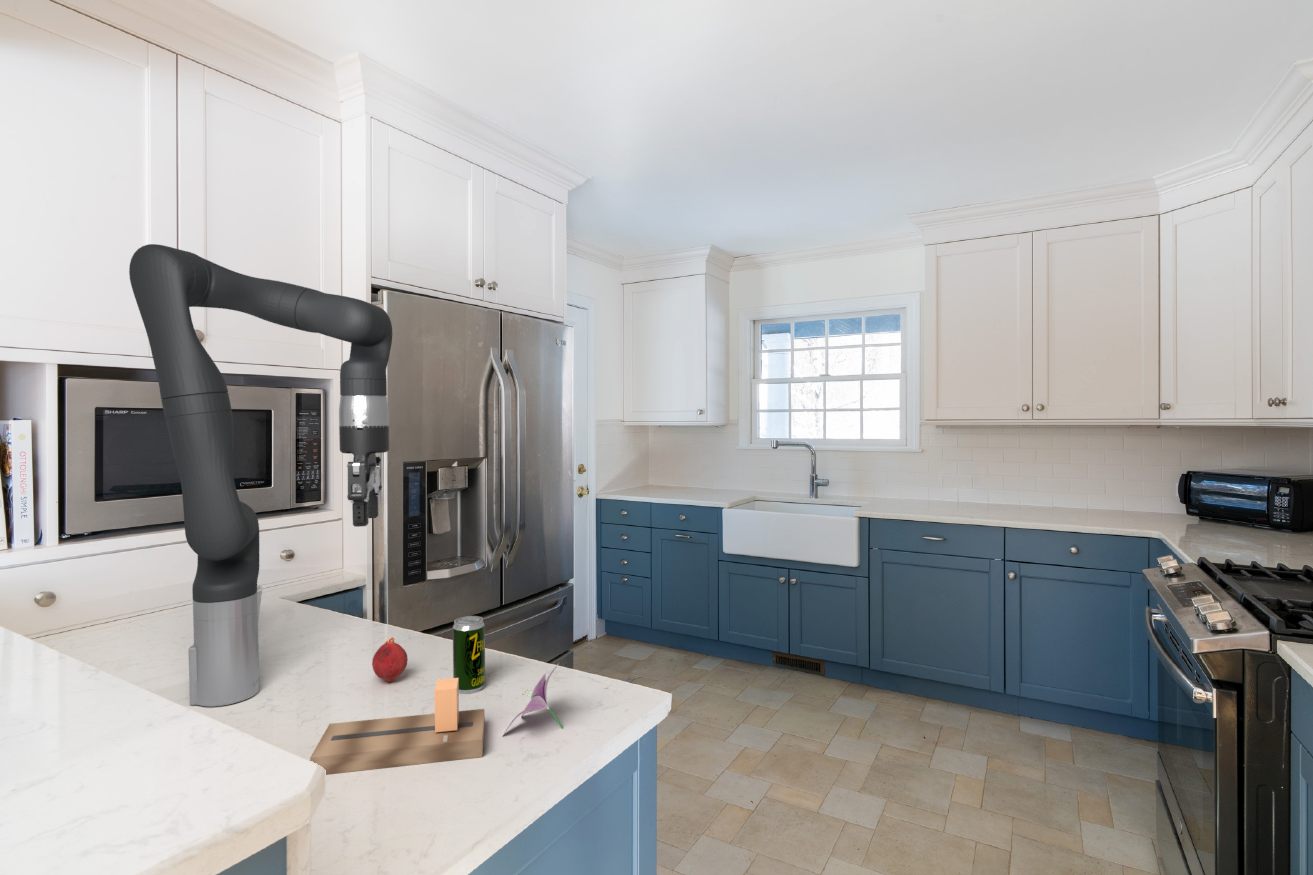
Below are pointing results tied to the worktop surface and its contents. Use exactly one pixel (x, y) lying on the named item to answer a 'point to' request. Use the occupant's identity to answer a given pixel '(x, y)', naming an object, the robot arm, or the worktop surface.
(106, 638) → the worktop surface
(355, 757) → the fader base
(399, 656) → the onion
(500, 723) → the worktop surface
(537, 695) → the lily
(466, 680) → the green soda can
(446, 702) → the fader knob
